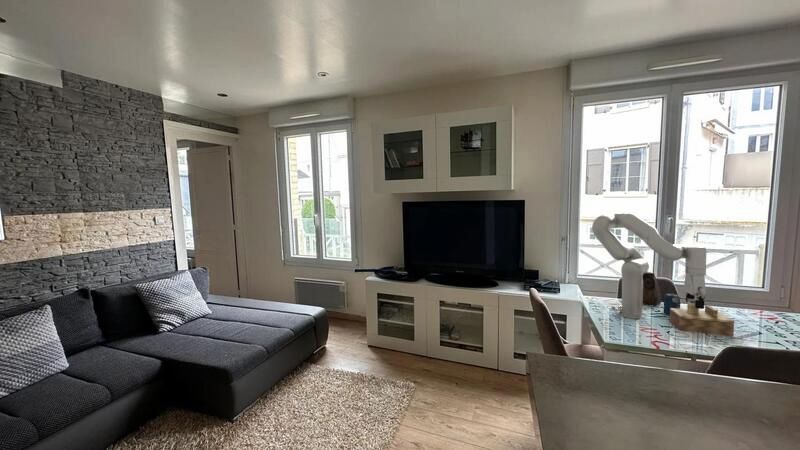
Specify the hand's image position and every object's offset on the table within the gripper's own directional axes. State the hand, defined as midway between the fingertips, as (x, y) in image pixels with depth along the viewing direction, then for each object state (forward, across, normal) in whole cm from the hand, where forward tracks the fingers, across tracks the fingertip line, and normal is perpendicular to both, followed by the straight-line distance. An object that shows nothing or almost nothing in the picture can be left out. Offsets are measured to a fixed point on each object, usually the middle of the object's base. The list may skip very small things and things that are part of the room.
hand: (694, 305), depth 158 cm
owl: (+12, -42, -6) cm, 44 cm away
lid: (+5, 0, +2) cm, 6 cm away
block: (+12, 0, -1) cm, 12 cm away
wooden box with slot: (+13, 0, +2) cm, 13 cm away
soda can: (+12, -20, -3) cm, 23 cm away
